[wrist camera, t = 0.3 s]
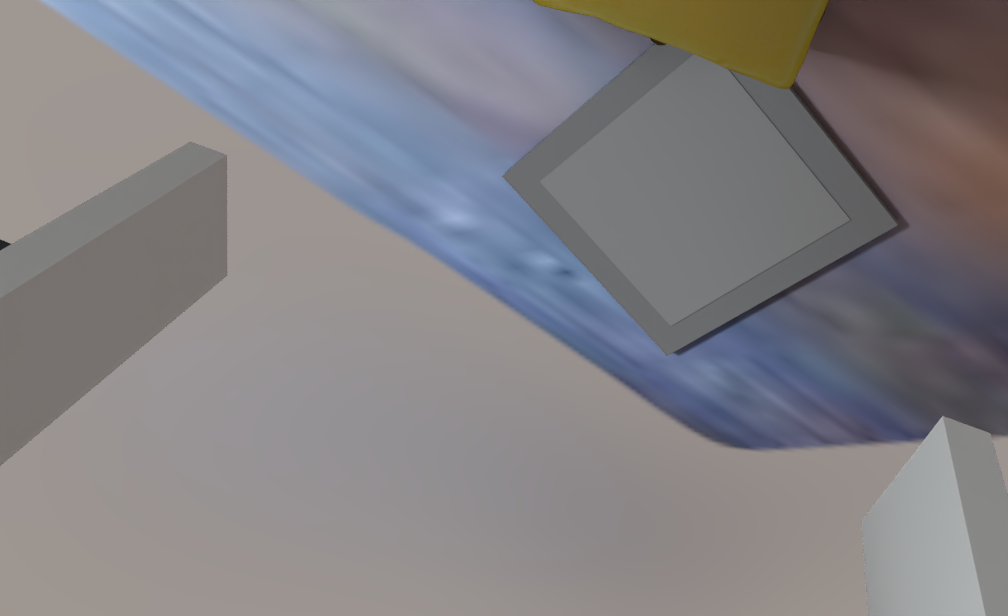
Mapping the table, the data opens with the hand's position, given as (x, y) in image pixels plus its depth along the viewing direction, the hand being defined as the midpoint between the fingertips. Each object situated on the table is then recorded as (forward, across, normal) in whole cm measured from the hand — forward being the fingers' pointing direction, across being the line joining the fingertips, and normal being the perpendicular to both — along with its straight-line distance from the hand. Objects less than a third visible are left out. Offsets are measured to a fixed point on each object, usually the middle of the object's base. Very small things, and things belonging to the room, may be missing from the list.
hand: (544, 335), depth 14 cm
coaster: (+27, +2, -9) cm, 28 cm away
